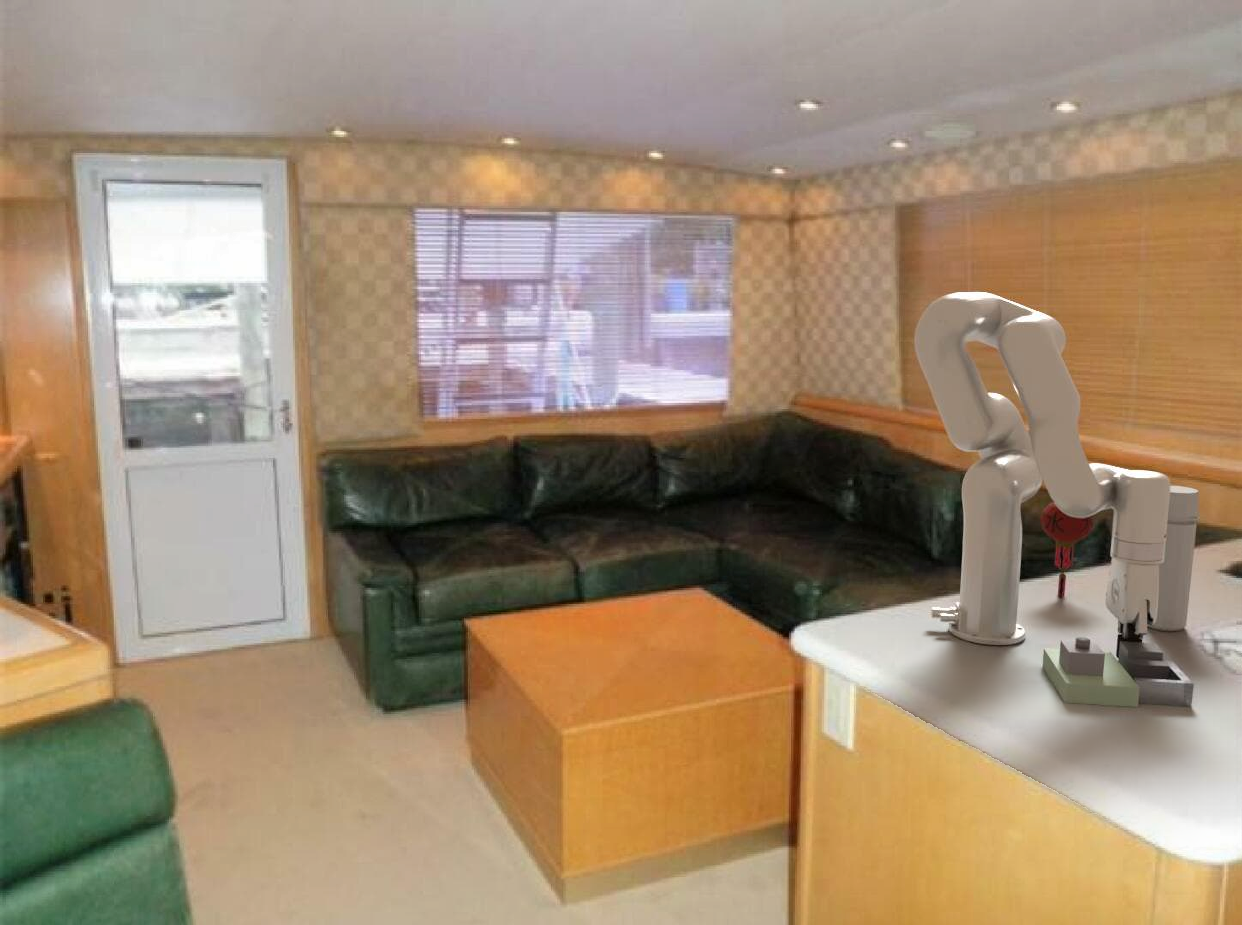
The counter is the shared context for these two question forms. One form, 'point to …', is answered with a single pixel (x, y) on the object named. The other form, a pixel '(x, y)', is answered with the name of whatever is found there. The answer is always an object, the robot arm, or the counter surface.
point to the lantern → (1064, 537)
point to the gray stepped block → (1143, 660)
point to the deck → (1089, 675)
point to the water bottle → (1177, 559)
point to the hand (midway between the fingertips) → (1128, 659)
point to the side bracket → (1166, 689)
